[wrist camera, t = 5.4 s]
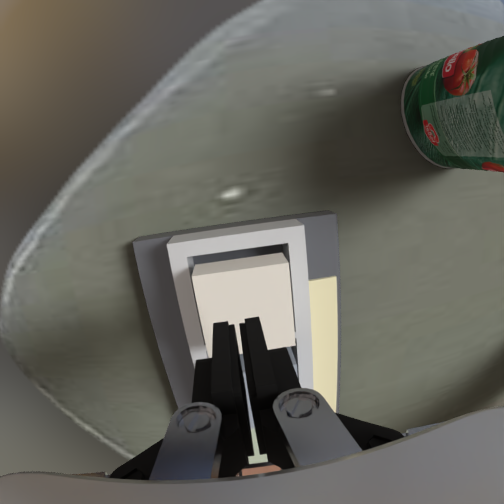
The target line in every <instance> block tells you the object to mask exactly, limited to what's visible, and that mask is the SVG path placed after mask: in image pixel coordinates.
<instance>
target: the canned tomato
mask: <svg viewBox="0 0 504 504" xmlns="http://www.w3.org/2000/svg"><path fill="white" fill-rule="evenodd" d="M401 114H402V118H403V123H404V126H405V129H406V132H407V134H408V136H409V138H410V140H411V142H412V144H413V145H414V146H415V148H416V149H417V150H418V152H419V153H420V154H421V155H422V156H423V157H424V158H425V159H426V160H428V161H429V162H431V163H432V164H434V165H437V166H439V167H442V168H461V169H471V170H472V169H475V170H485V171H499V172H504V36H502V37H499V38H495V39H493V40H491V41H487V42H485V43H482V44H478V45H476V46H474V47H470V48H468V49H466V50H462V51H460V52H458V53H455V54H453V55H451V56H447V57H445V58H443V59H440V60H438V61H435V62H433V63H431V64H429V65H427V66H423V67H420V68H418V69H416V70H415V71H414V72H413V73H412V74H411V75H409V77H408V78H407V80H406V82H405V84H404V87H403V90H402V95H401Z"/></svg>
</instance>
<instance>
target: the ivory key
mask: <svg viewBox="0 0 504 504" xmlns="http://www.w3.org/2000/svg"><path fill="white" fill-rule="evenodd" d="M192 281H193V286H194V291H195V296H196V301H197V306H198V311H199V316H200V321H201V325H202V330H203V335H204V339H205V344H206V348H207V353H208V357H209V358H212V338H213V323H217V322H225V321H228V323H229V325H231V324H234V325H235V330H236V336H237V342H238V348H239V354H243V351H242V343H241V335H240V327H239V323H245V320H244V319H246V318H252V317H259V318H260V322H261V326H262V330H263V333H264V337H265V341H266V345H267V349H268V350H270V349H276V348H282V347H290V346H296V344H295V331H294V318H293V306H292V294H291V282H290V271H289V262H288V261H287V259H286V258H285V256H284V255H283V253H275V254H268V255H261V256H254V257H247V258H239V259H232V260H225V261H218V262H211V263H204V264H196V265H195V267H194V270H193V273H192Z"/></svg>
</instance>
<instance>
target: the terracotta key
mask: <svg viewBox="0 0 504 504" xmlns="http://www.w3.org/2000/svg"><path fill="white" fill-rule="evenodd" d="M280 470H281V469H280V467H278V466H276V465H271V466H264V467H256V468H248V469H242V476H245V475H253V474H260V473H267V472H274V471H280Z"/></svg>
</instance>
